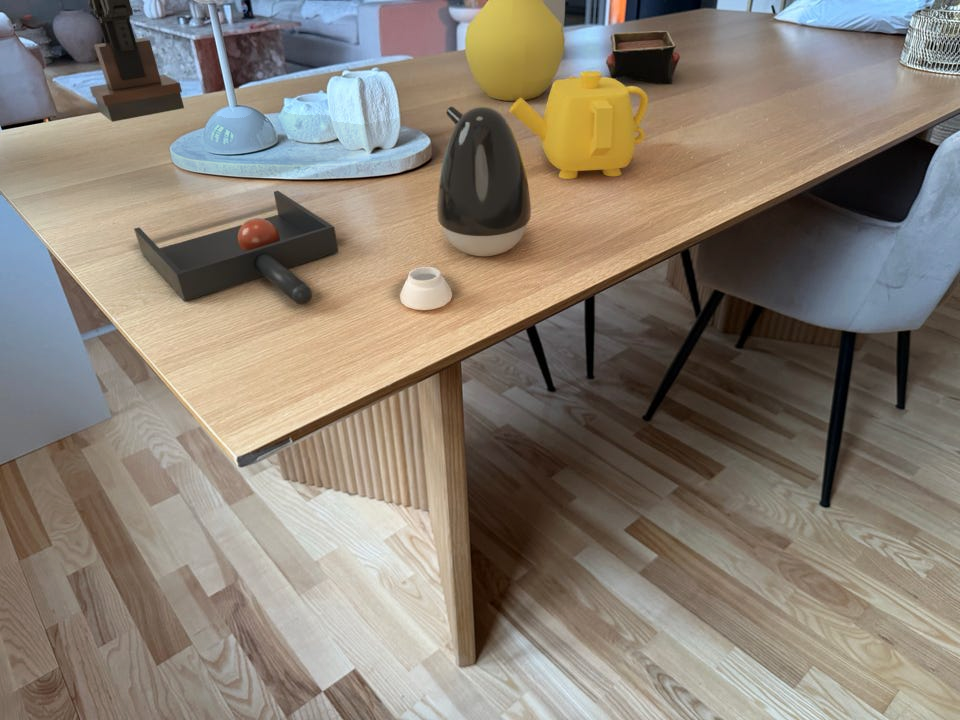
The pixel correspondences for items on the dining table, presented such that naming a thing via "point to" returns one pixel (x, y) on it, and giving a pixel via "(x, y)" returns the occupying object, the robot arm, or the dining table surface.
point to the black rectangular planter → (643, 56)
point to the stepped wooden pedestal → (134, 87)
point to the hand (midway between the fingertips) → (130, 75)
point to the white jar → (425, 289)
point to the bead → (257, 234)
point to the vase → (514, 48)
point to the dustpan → (244, 255)
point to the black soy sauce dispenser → (483, 184)
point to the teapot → (587, 124)
